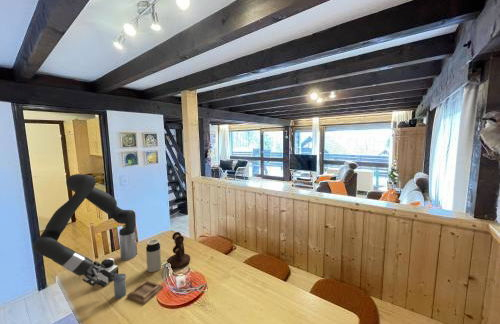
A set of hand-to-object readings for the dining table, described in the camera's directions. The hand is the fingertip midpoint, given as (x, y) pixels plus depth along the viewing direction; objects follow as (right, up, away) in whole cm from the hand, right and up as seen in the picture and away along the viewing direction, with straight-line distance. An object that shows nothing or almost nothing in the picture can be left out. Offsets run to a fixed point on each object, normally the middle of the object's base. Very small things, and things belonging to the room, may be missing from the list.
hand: (107, 280), depth 106 cm
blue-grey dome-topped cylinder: (+5, -9, +3) cm, 11 cm away
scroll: (+25, -7, +32) cm, 42 cm away
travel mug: (+12, -8, +26) cm, 29 cm away
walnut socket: (+17, -9, +4) cm, 20 cm away
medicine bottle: (-10, -9, +15) cm, 20 cm away
